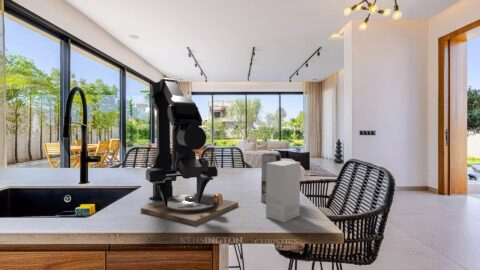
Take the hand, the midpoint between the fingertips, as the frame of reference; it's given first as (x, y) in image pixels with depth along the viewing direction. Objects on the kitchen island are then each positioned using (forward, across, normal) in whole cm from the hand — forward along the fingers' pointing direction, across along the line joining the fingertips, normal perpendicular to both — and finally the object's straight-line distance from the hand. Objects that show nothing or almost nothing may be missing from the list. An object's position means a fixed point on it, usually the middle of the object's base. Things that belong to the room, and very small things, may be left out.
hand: (182, 204), depth 74 cm
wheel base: (+4, +5, +8) cm, 10 cm away
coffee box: (+4, +34, +5) cm, 35 cm away
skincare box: (+4, +25, -12) cm, 28 cm away
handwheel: (+2, +6, +6) cm, 9 cm away
